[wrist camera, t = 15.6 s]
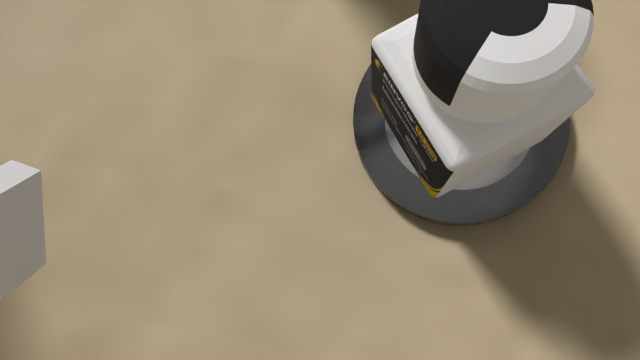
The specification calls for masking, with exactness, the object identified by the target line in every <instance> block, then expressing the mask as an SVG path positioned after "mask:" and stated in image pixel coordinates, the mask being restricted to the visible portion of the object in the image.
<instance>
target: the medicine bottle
mask: <svg viewBox="0 0 640 360" xmlns="http://www.w3.org/2000/svg"><path fill="white" fill-rule="evenodd" d="M593 21H594V13H593V5H592V1H591V0H421V2H420V7H419V13H418V14H416V15H414V16H412V17H411V18H409V19H407V20H405V21H403V22H401V23H399V24H398V25H396V26H394V27H392V28H390V29H388V30H386V31H385V32H383V33H381V34H379V35H377V36H376V37H375V38H374V39H373V40H372V44H371V96H372V99H373V101H374V102H375V104H376V106H377V107H378V109H379V111H380V112H381V114H382V116H383V117H384V119H385V121H386V122H387V124H388V126H389V127H390V129H391V131H392V132H393V134H394V136H395V137H396V139H397V141H398V142H399V144H400V146H401V147H402V149H403V151H404V152H405V154H406V156H407V157H408V159H409V161H410V162H411V164H412V166H413V167H414V169H415V171H416V172H417V174H418V176H419V177H420V179H421V181H422V182H423V184H424V186H425V188H426V189H427V191H428V193H429V194H430V195H431V196H432V197H435V198H437V197H440V196H442V195H444V194H445V193H447V192H449V191H451V190H453V189H455V188H456V187H458V186H460V185H462V184H464V183H466V182H467V181H469V180H471V179H473V178H475V177H477V176H478V175H480V174H482V173H484V172H486V171H488V170H489V169H491V168H493V167H495V166H497V165H499V164H500V163H502V162H504V161H506V160H508V159H510V158H512V157H513V156H515V155H517V154H519V153H521V152H523V151H524V150H526V149H528V148H530V147H532V146H534V145H535V144H537V143H539V142H541V141H542V140H543V139H545V138H546V137H547V136H548V135H549V134H550V133H552V132H553V131H554V130H555V129H556V128H557V127H558V126H560V125H561V124H562V123H563V122H564V121H565V120H566V119H568V118H569V117H570V116H571V115H572V114H573V113H574V112H576V111H577V110H578V109H579V108H580V107H581V106H582V105H584V104H585V103H586V102H587V101H588V100H589V99H590V98H591V97H592V96H593V95H594V91H595V90H594V87H593V85H592V84H591V83H590V81H589V80H588V79H587V77H586V76H585V74H584V73H583V72H582V70H581V69H580V67H579V66H578V65H577V63H578V61H579V60H580V59H581V58H582V56H583V54H584V52H585V51H586V49H587V47H588V44H589V41H590V39H591V35H592V30H593Z"/></svg>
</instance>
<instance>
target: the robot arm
mask: <svg viewBox="0 0 640 360" xmlns="http://www.w3.org/2000/svg"><path fill="white" fill-rule="evenodd" d="M45 264H46V253H45V235H44V217H43V198H42V180H41V170H38V169H35V168H33V167H30V166H27V165H24V164H22V163H19V162H16V161H13V160H11V161H9V162H7V163H5V164H3V165H1V166H0V300H1V299H2V298H4V297H5V296H6V295H7V294H9V293H10V292H11V291H12V290H14V289H15V288H16V287H17V286H19V285H20V284H21V283H22V282H24V281H25V280H26V279H27V278H29V277H30V276H31V275H32V274H34V273H35V272H36V271H38V270H39V269H40V268H41V267H43V266H44V265H45Z"/></svg>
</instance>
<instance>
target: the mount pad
mask: <svg viewBox="0 0 640 360" xmlns="http://www.w3.org/2000/svg"><path fill="white" fill-rule="evenodd" d="M353 125H354V134H355V143H356V146H357V150H358V154H359V157H360V159H361V162H362V164H363V167H364V168H365V170H366V172H367V174H368V175H369V177H370V179H371V180H372V181H373V182H374V184H375V185H376V186H377V188H378V189H379V190H380V191H381V192H382V193H383V194H384V195H385V196H386V197H387V198H388V199H390V200H391V201H392V202H393V203H395V204H396V205H397V206H399V207H401V208H402V209H404V210H406V211H407V212H409V213H411V214H413V215H416V216H418V217H420V218H423V219H426V220H429V221H433V222H437V223H443V224H450V225H469V224H479V223H483V222H487V221H491V220H494V219H497V218H500V217H502V216H505V215H507V214H509V213H510V212H512V211H514V210H516V209H518V208H520V207H521V206H523V205H525V204H526V203H527V202H529V201H530V200H531V199H533V198H534V197H535V196H536V195H537V194H539V193H540V192H541V191H542V190H543V189H544V188H545V187H546V185H547V184H548V183H549V181H550V180H551V179H552V177H553V176H554V175H555V173H556V171H557V169H558V167H559V166H560V164H561V161H562V159H563V156H564V154H565V151H566V147H567V142H568V138H569V125H570V124H569V118H568V119H566V120H565V121H564V122H563V123H562V124H561V125H560V126H558V127H557V128H556V129H555V130H554V131H553V132H552V133H550V134H549V135H548V136H547V137H546V138H545V139H543V140H542V141H541V142H539V143H537V144H535V145H534V146H532V147H530V148H528V149H526V150H524V151H523V152H521V153H519V154H517V155H515V156H513V157H512V158H510V159H508V160H506V161H504V162H502V163H500V164H499V165H497V166H495V167H493V168H491V169H489V170H488V171H486V172H484V173H482V174H480V175H478V176H477V177H475V178H473V179H471V180H469V181H467V182H466V183H464V184H462V185H460V186H458V187H456V188H455V189H453V190H451V191H449V192H447V193H445V194H444V195H442V196H440V197H437V198H435V197H432V196H431V195H430V194H429V193H428V191H427V189H426V188H425V186H424V184H423V182H422V181H421V179H420V177H419V176H418V174H417V172H416V171H415V169H414V167H413V166H412V164H411V162H410V161H409V159H408V157H407V156H406V154H405V152H404V151H403V149H402V147H401V146H400V144H399V142H398V141H397V139H396V137H395V136H394V134H393V132H392V131H391V129H390V127H389V126H388V124H387V122H386V121H385V119H384V117H383V116H382V114H381V112H380V111H379V109H378V107H377V106H376V104H375V102H374V101H373V99H372V96H371V65H370V66H369V68H368V70H367V71H366V73H365V74H364V77H363V79H362V81H361V83H360V85H359V88H358V92H357V95H356V99H355V105H354V115H353Z"/></svg>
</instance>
